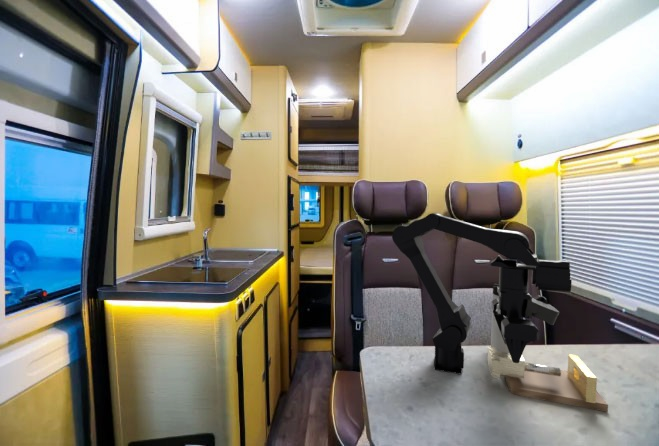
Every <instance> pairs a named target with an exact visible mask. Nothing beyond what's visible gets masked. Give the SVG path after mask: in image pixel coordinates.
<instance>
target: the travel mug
mask: <svg viewBox="0 0 659 446" xmlns="http://www.w3.org/2000/svg"><path fill="white" fill-rule="evenodd" d="M497 287H499V281H498V282H495V283H493V285H492V297H491V298H492V299H491V300H492V301H493V300H494V299H496V298H497V299H499V293H498V292H497ZM492 301H491V302H492ZM490 328H491V330H490V332H491V333H490V334H491V335H490V347H495V348H496V351H498V352H505V353H509V350H508V348H507V345H506V344H505V343H504V340H503V338H502V335H501V333H500V330H499V327H498V325H497V322H496V320H495V317H494V314H493V310H492V309H491V327H490Z"/></svg>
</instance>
